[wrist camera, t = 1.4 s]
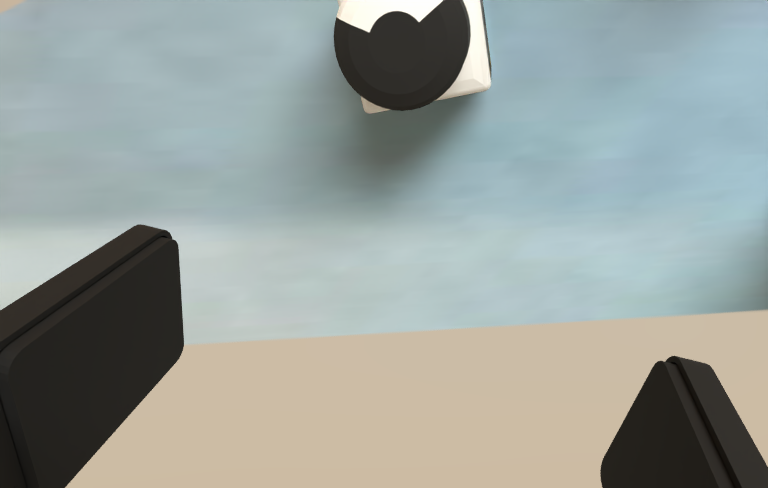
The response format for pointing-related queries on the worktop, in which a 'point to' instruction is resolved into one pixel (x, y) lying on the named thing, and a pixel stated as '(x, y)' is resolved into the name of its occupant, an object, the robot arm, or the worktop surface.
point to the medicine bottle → (412, 51)
